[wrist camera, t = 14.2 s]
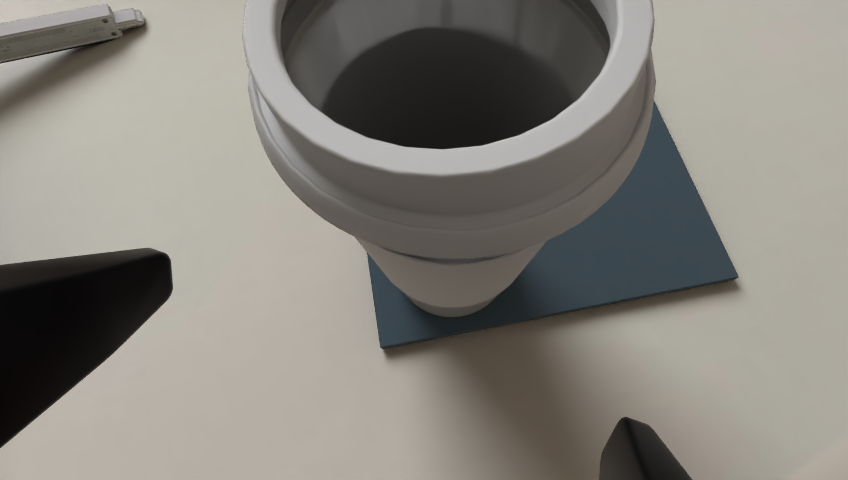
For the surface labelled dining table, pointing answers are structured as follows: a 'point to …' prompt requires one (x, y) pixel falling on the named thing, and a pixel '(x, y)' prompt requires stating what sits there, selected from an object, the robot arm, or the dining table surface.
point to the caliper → (64, 31)
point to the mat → (591, 255)
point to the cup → (451, 126)
